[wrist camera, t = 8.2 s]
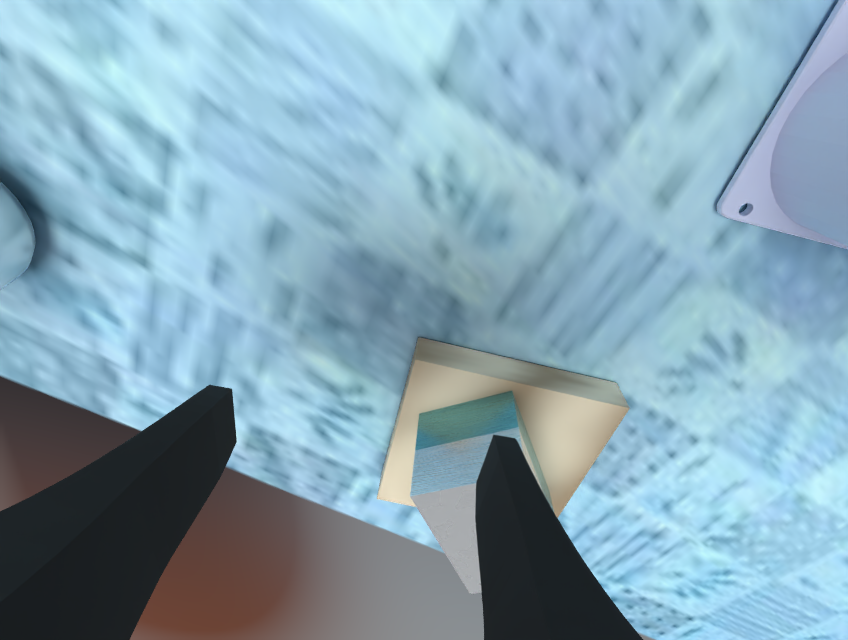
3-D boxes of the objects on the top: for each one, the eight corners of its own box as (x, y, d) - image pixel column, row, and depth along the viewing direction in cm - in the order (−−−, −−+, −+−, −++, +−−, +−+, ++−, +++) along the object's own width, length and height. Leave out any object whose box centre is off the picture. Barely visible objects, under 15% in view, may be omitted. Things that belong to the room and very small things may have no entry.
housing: (549, 491, 24) (569, 580, 20) (467, 506, 26) (470, 593, 21) (512, 390, 21) (526, 473, 17) (419, 413, 22) (410, 496, 18)
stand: (616, 382, 23) (629, 408, 21) (541, 505, 28) (547, 533, 27) (418, 336, 22) (415, 359, 20) (381, 472, 28) (377, 498, 26)
